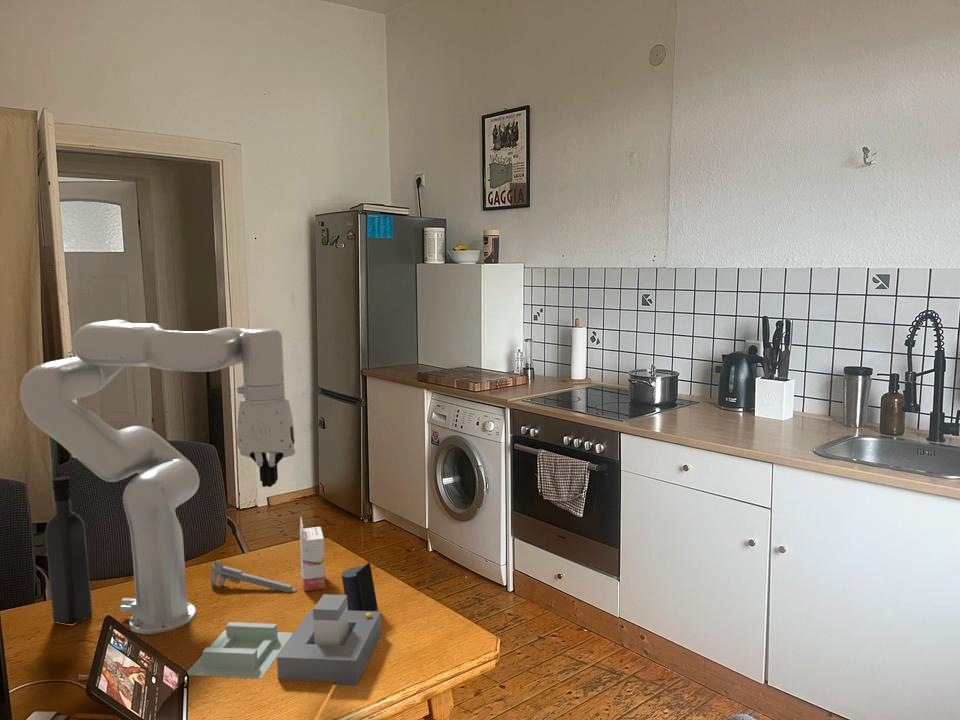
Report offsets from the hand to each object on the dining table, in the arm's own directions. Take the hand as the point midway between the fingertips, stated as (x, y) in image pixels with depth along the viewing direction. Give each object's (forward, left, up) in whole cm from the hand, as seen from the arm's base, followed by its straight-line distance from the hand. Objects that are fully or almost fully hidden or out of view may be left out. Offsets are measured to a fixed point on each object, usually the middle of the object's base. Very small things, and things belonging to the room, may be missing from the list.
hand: (269, 484), depth 145 cm
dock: (+15, -11, -29) cm, 35 cm away
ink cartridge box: (+1, +20, -29) cm, 35 cm away
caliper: (-12, +16, -30) cm, 36 cm away
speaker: (+15, +7, -29) cm, 34 cm away
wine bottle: (-43, -1, -29) cm, 52 cm away
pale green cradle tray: (-2, -12, -29) cm, 32 cm away
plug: (+15, -11, -28) cm, 34 cm away
